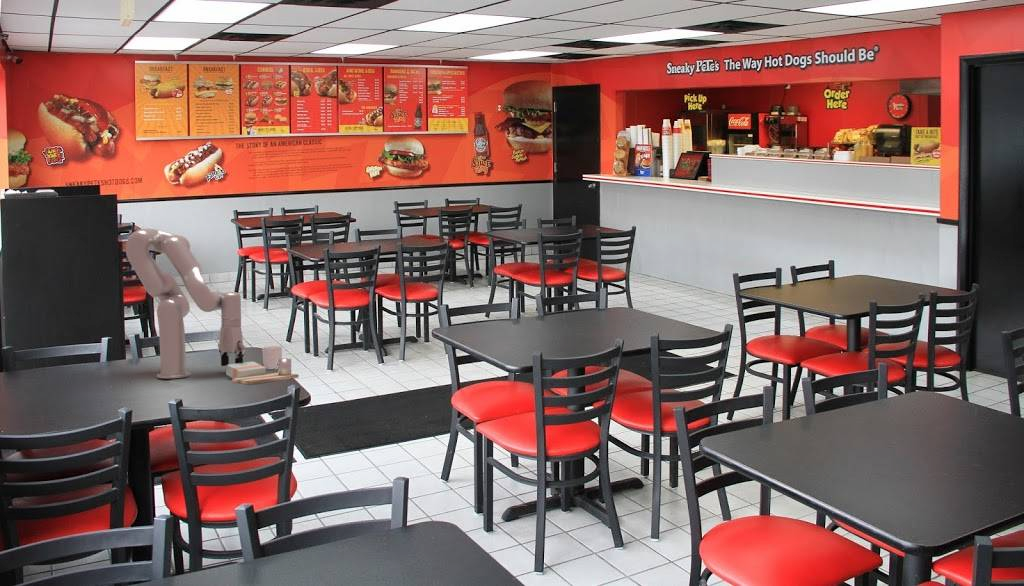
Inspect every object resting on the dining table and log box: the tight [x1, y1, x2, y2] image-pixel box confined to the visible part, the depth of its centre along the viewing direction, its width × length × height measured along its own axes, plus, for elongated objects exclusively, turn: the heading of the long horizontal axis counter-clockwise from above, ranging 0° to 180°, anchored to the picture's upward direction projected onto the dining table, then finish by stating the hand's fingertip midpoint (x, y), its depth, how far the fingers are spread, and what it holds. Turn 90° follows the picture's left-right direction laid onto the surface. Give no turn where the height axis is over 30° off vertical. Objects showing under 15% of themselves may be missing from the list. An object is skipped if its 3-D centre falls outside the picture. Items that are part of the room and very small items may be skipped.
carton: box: [225, 361, 267, 379], centre depth 382 cm, size 8×12×4 cm
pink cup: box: [261, 345, 283, 370], centre depth 401 cm, size 8×8×10 cm
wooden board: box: [231, 371, 299, 386], centre depth 377 cm, size 12×22×1 cm, turn 139°
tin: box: [277, 358, 292, 375], centre depth 381 cm, size 5×5×6 cm
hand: (232, 366), depth 388 cm, fingers open, 9 cm apart
